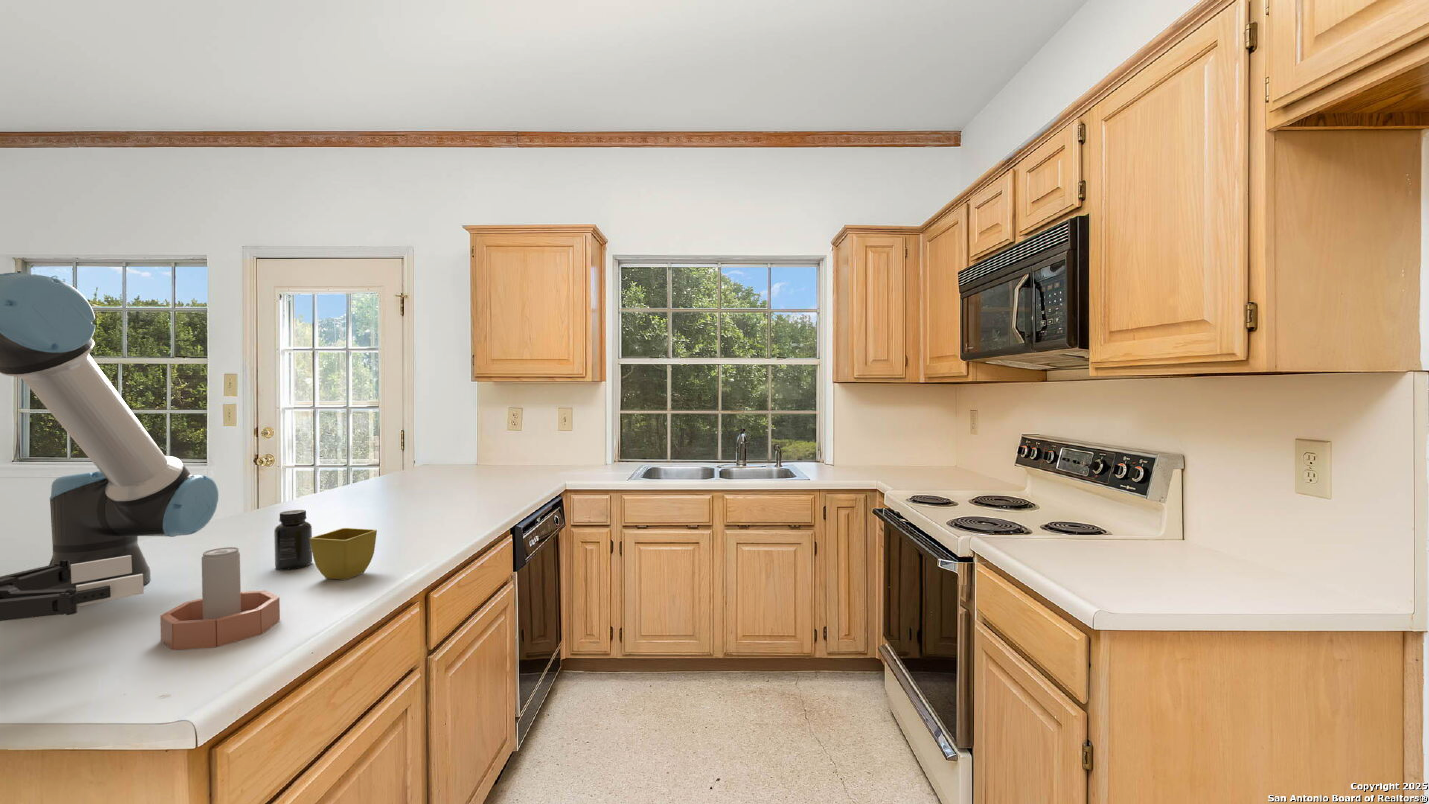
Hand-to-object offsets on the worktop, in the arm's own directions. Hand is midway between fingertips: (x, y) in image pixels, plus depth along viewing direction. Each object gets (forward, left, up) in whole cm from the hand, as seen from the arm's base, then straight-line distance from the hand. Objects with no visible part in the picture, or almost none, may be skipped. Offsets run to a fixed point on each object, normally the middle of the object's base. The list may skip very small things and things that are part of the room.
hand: (137, 573), depth 91 cm
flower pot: (+16, +33, -12) cm, 39 cm away
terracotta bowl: (+8, +6, -12) cm, 15 cm away
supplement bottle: (+2, +43, -12) cm, 45 cm away
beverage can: (+8, +6, -11) cm, 15 cm away
